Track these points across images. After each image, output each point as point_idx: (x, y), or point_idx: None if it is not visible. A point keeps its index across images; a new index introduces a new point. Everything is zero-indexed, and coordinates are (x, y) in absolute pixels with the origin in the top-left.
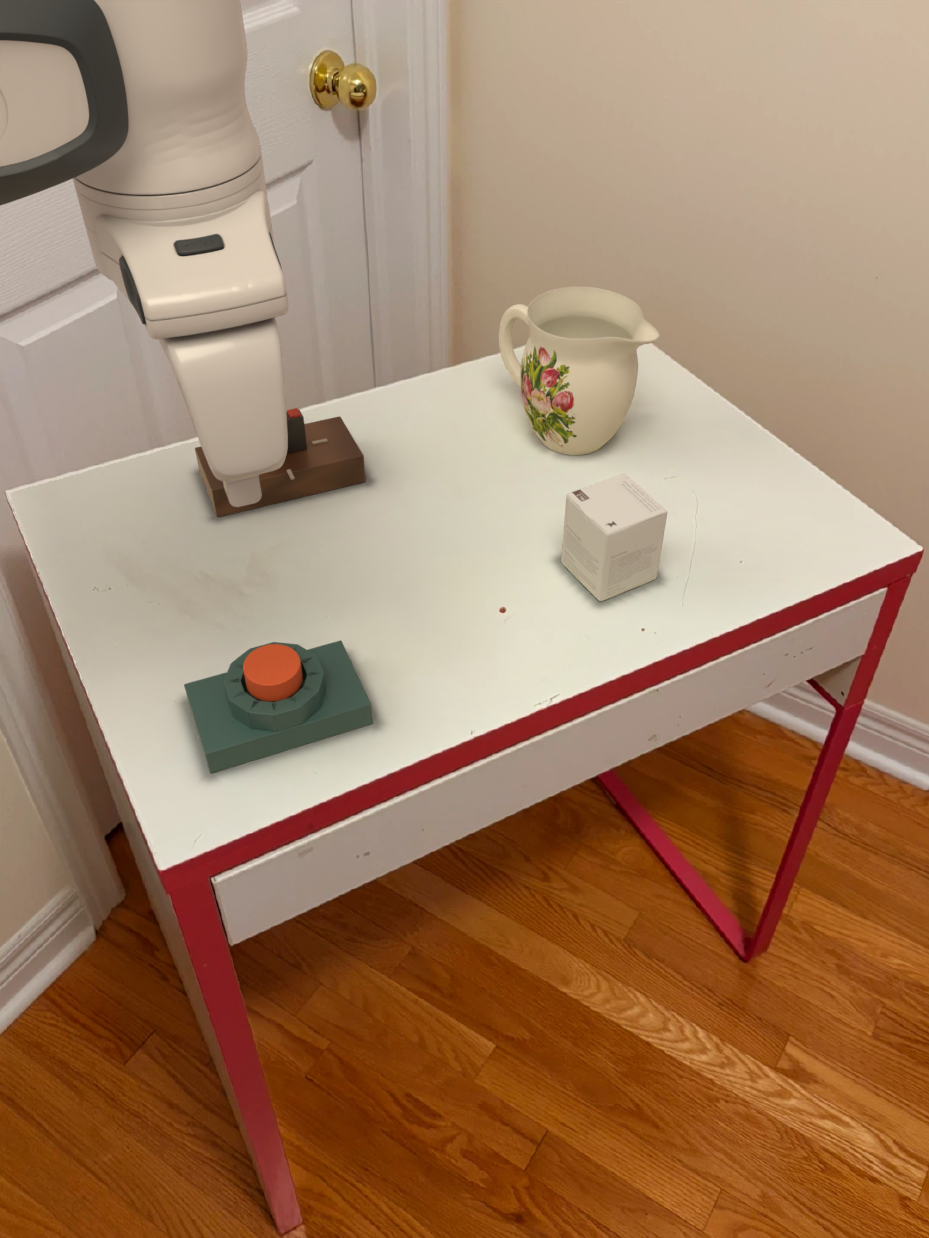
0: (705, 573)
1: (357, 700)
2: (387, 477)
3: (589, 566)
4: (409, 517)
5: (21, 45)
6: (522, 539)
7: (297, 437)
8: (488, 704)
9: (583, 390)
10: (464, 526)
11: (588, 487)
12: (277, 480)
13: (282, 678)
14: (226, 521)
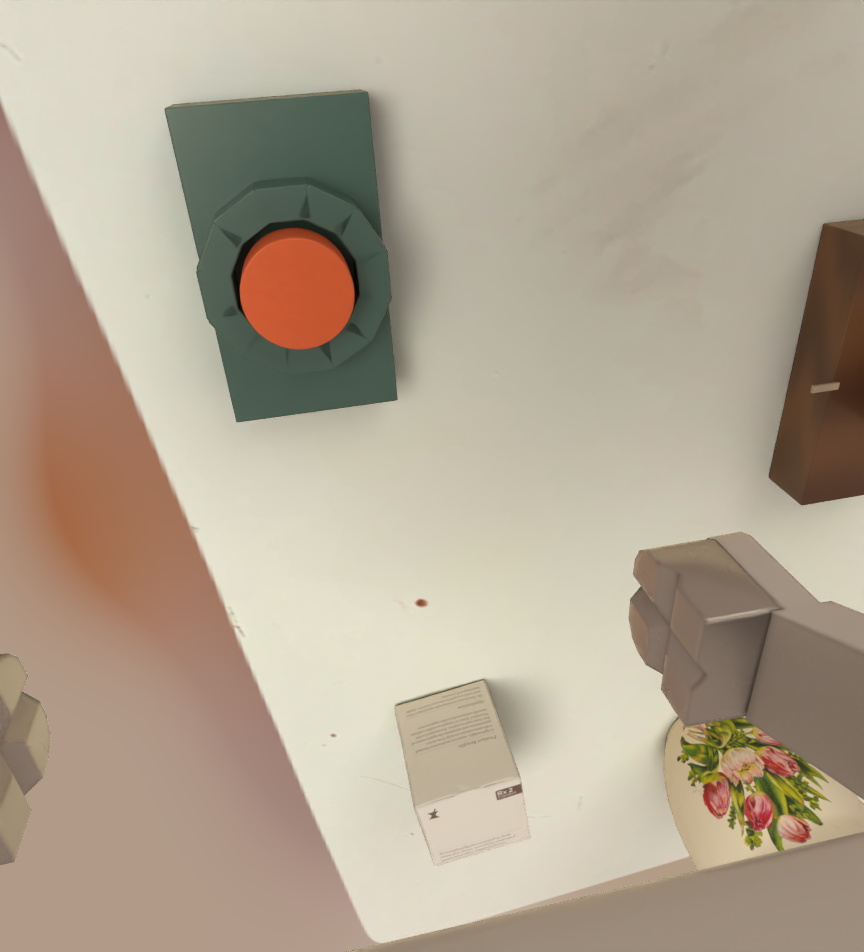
0: (405, 803)
1: (249, 403)
2: (761, 508)
3: (428, 730)
4: (659, 523)
5: None
6: (546, 646)
7: None
8: (244, 556)
9: (711, 834)
10: (605, 587)
11: (521, 801)
12: (829, 359)
13: (254, 310)
14: (804, 239)
